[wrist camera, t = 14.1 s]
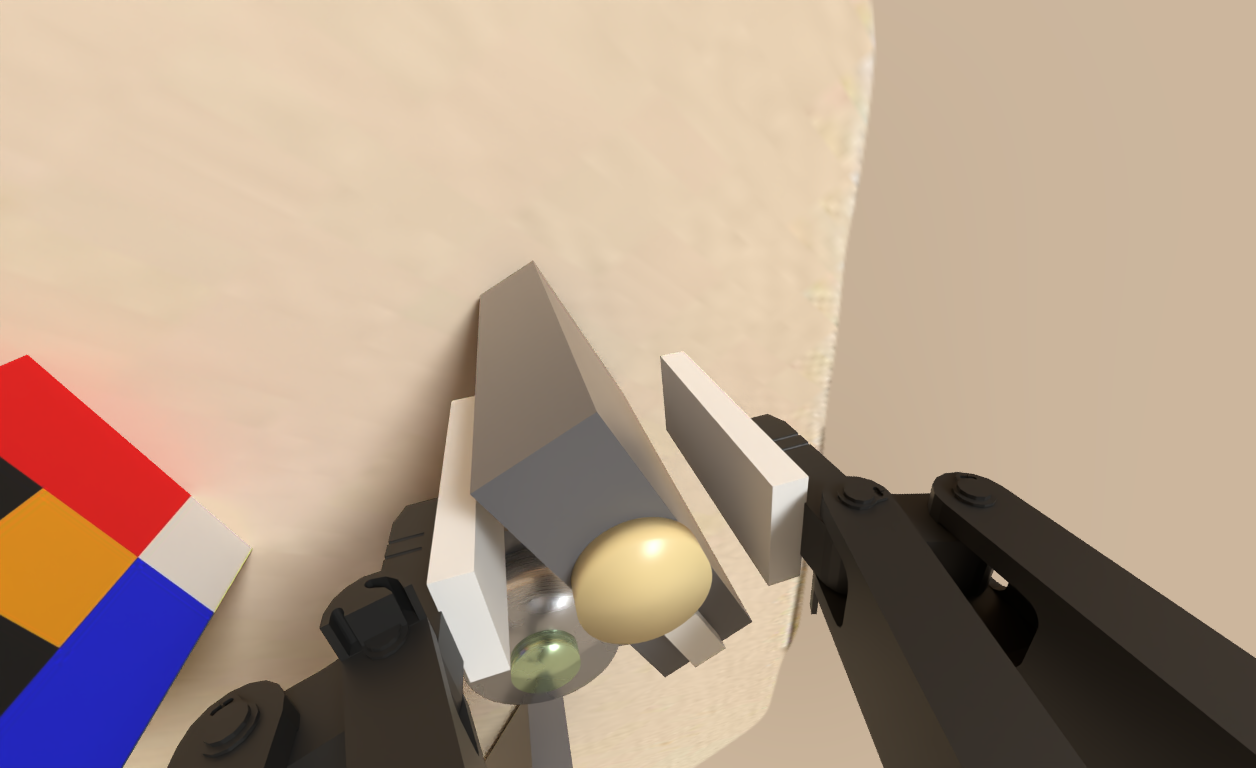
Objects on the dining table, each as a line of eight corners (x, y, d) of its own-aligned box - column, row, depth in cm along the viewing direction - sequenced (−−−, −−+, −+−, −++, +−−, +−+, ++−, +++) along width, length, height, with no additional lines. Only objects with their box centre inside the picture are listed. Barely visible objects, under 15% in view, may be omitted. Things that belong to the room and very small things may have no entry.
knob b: (477, 296, 18) (463, 523, 7) (535, 259, 18) (610, 427, 7) (576, 422, 21) (670, 705, 10) (624, 391, 21) (769, 642, 10)
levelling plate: (415, 649, 25) (399, 760, 20) (408, 514, 21) (387, 613, 17) (630, 620, 29) (658, 710, 24) (655, 501, 25) (694, 579, 20)
